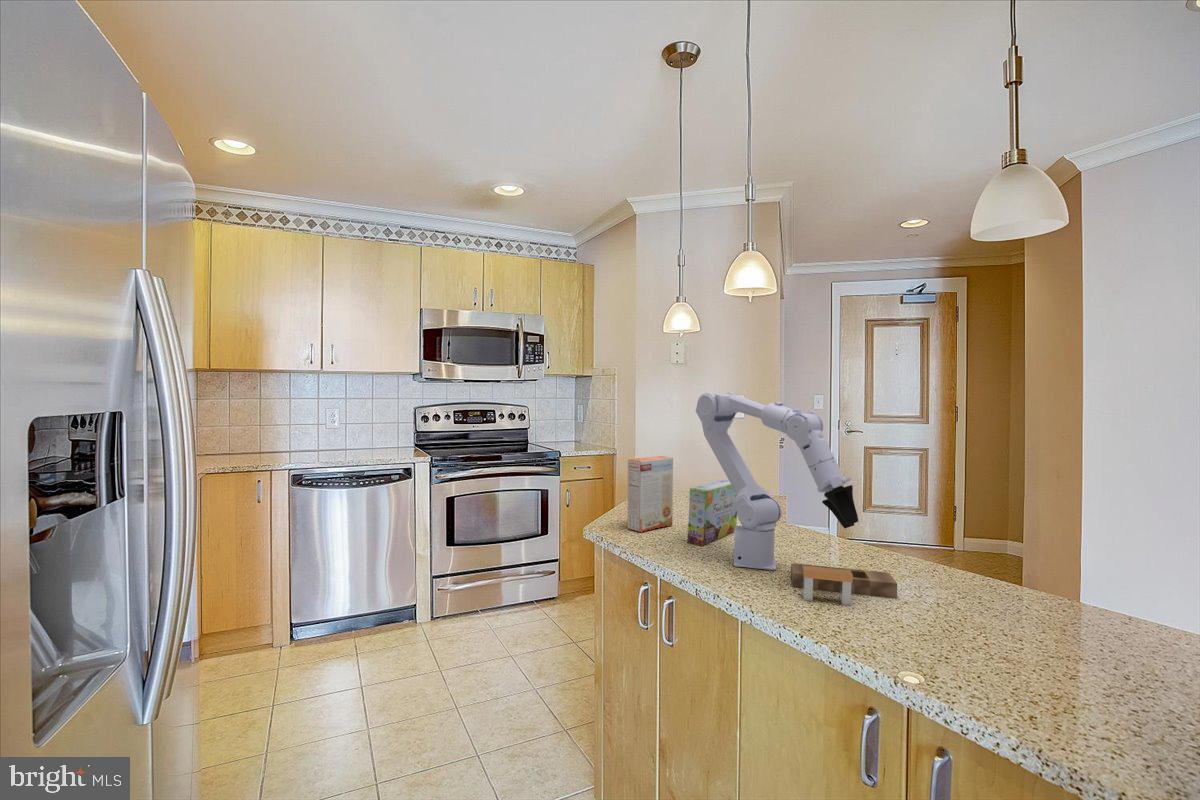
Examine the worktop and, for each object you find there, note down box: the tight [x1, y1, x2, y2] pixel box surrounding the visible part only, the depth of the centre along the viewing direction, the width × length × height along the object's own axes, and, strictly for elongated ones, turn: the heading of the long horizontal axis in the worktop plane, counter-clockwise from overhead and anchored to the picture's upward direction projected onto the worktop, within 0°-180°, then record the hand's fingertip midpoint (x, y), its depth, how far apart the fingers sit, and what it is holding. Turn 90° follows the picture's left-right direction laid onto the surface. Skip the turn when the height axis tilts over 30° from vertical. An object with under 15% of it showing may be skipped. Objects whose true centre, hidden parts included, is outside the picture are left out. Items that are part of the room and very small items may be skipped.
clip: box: [802, 566, 853, 606], centre depth 111 cm, size 9×3×6 cm, turn 74°
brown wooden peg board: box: [790, 562, 898, 599], centre depth 118 cm, size 20×7×3 cm, turn 74°
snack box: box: [687, 479, 738, 547], centre depth 157 cm, size 21×6×15 cm, turn 143°
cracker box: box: [627, 455, 674, 533], centre depth 166 cm, size 14×6×21 cm, turn 130°
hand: (851, 525), depth 114 cm, fingers open, 7 cm apart
